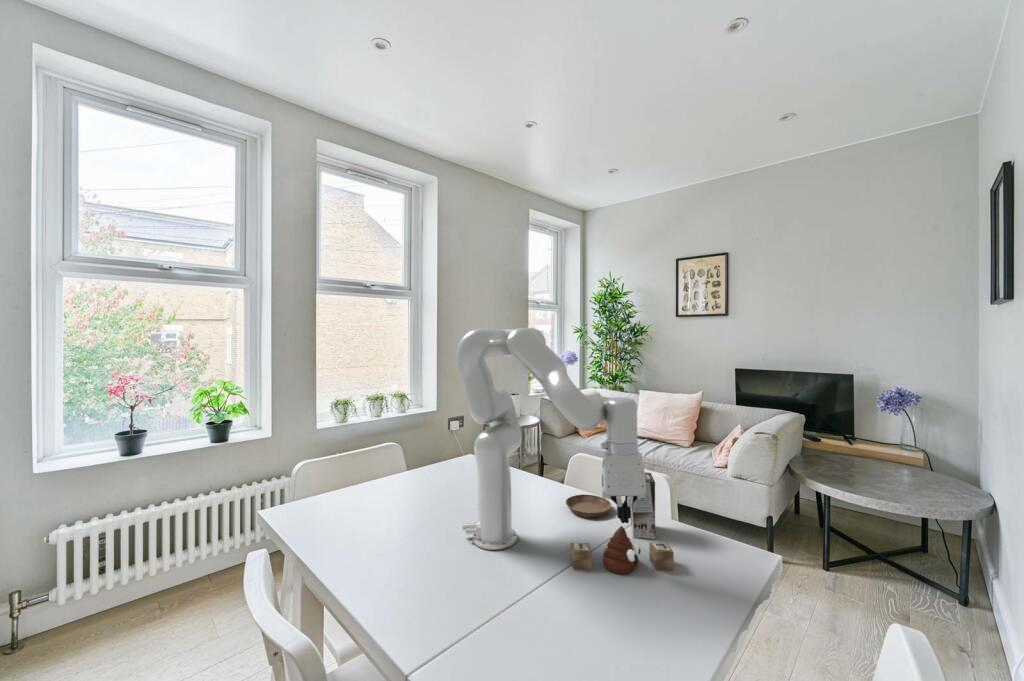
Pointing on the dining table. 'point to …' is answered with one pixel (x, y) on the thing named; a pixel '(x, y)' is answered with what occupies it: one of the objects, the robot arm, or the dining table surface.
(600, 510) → the saucer
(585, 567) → the letter i block
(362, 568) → the dining table surface
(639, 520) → the coffee box
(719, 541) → the dining table surface
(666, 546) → the letter l block
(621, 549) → the poop emoji
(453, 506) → the dining table surface
